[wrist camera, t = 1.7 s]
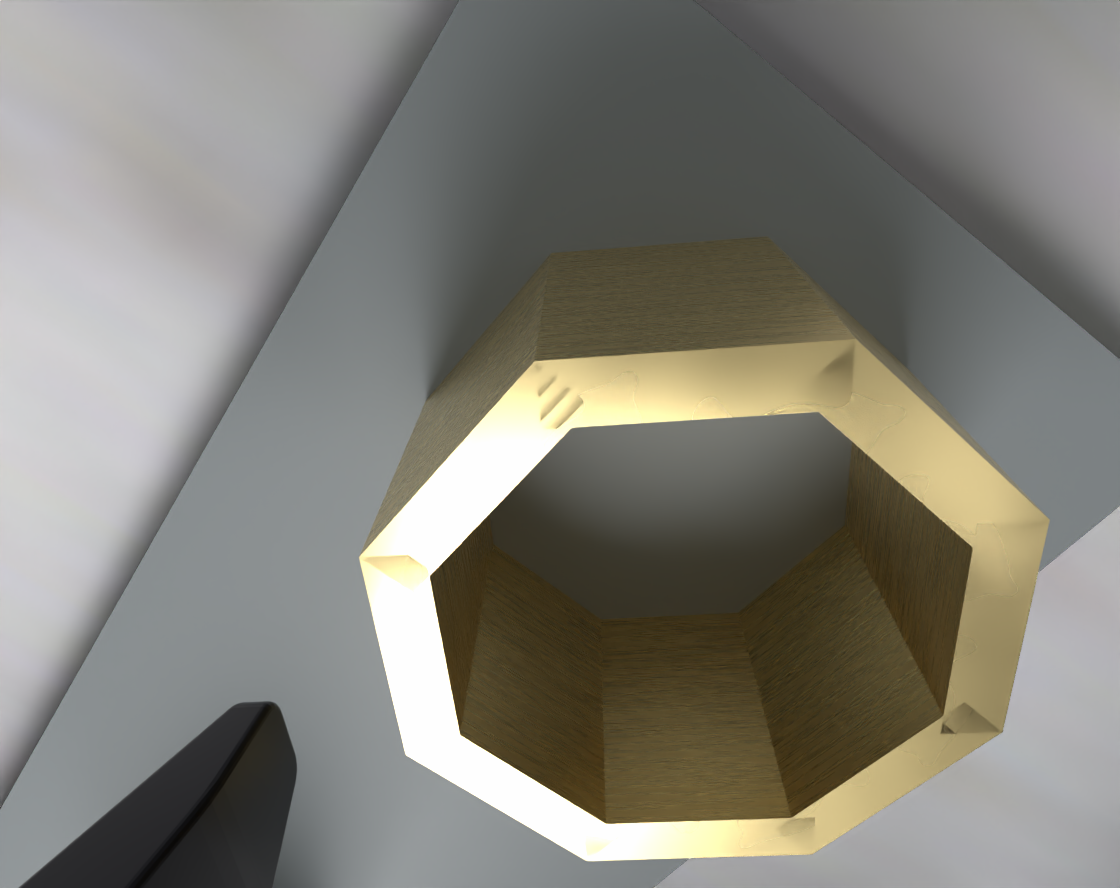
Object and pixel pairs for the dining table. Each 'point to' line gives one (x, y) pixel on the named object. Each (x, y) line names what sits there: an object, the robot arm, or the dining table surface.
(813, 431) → the fit board
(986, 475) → the brass ring
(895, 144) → the dining table surface
